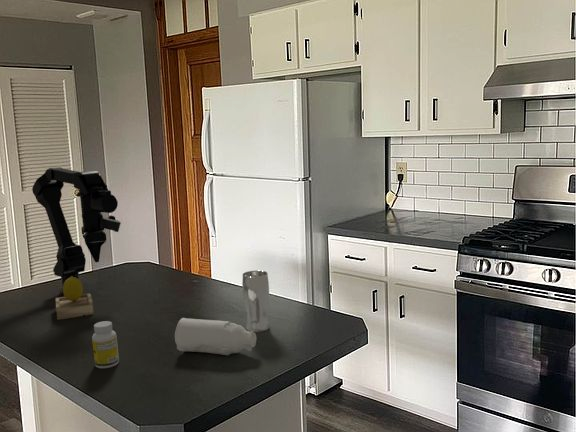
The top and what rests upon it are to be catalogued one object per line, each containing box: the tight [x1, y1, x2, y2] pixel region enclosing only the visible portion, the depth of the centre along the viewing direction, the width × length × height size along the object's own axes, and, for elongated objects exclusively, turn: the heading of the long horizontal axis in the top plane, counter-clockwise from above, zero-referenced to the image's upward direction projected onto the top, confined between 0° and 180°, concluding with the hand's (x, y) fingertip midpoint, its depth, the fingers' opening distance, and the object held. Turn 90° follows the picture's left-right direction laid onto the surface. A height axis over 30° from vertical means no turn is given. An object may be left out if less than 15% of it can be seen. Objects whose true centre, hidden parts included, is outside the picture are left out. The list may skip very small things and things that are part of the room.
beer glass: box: [242, 270, 270, 333], centre depth 150 cm, size 7×7×15 cm
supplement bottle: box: [91, 320, 120, 369], centre depth 131 cm, size 5×5×10 cm
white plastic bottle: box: [174, 317, 257, 356], centre depth 135 cm, size 8×19×8 cm, turn 72°
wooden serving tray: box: [55, 292, 95, 320], centre depth 171 cm, size 10×10×4 cm
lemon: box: [63, 276, 84, 302], centre depth 170 cm, size 6×6×8 cm
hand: (95, 259), depth 182 cm, fingers open, 9 cm apart
